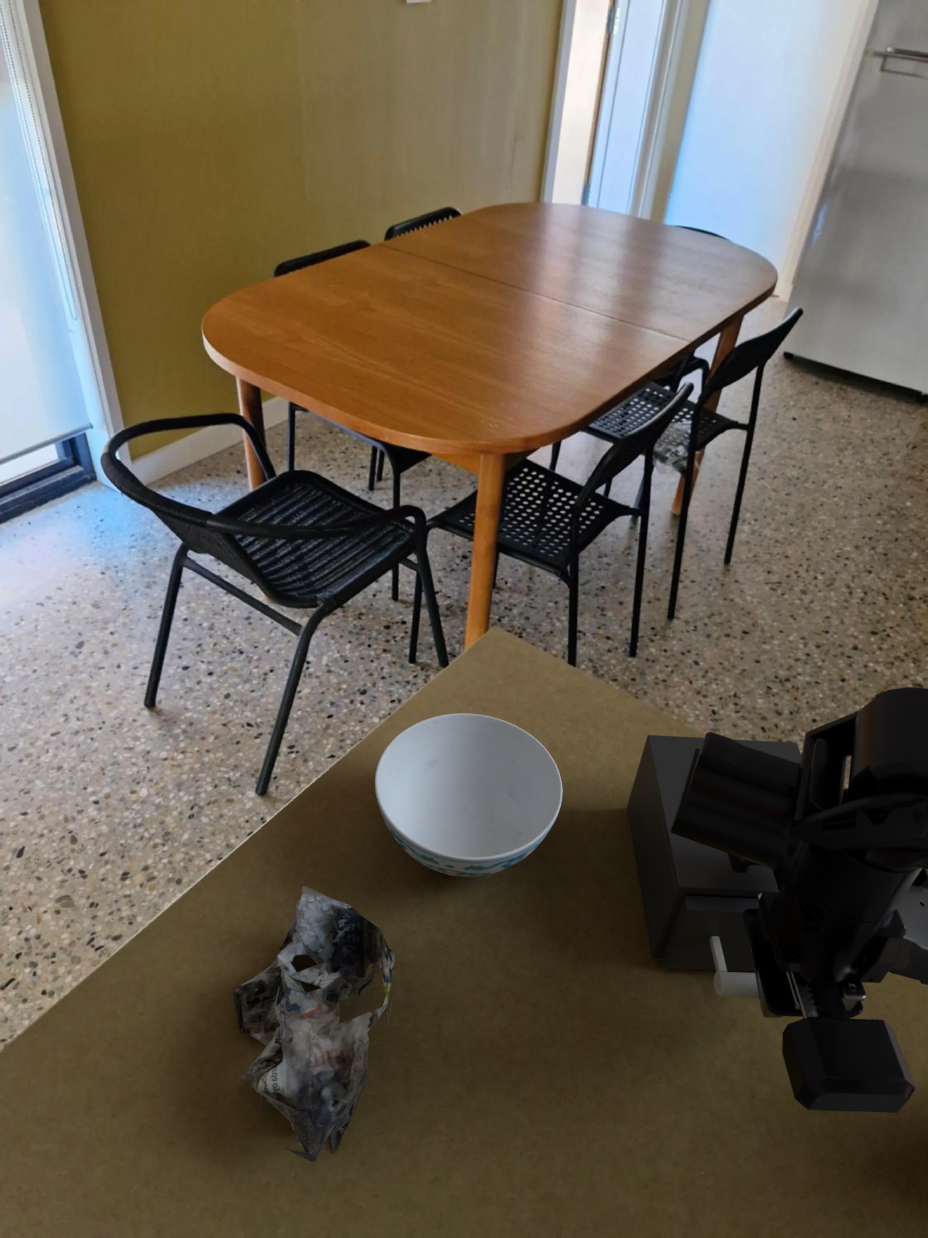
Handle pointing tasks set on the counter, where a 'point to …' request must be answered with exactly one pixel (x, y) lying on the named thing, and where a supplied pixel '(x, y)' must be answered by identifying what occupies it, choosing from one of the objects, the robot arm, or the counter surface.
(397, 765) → the chinaware
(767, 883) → the drawer cabinet
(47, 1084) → the counter surface
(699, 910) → the pulled-out drawer
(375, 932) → the foil
